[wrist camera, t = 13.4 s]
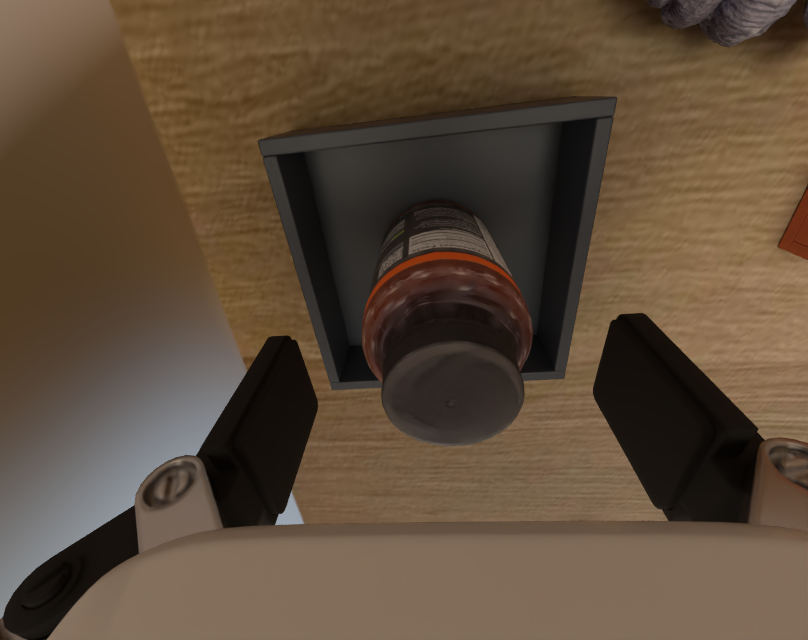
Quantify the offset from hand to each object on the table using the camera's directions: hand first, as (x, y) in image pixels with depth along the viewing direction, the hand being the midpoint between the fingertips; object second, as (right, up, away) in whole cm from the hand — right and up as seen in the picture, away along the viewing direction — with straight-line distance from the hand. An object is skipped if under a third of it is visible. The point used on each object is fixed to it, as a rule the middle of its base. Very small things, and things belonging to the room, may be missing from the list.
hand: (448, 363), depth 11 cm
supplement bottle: (0, +5, +9) cm, 10 cm away
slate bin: (0, +5, +9) cm, 10 cm away
